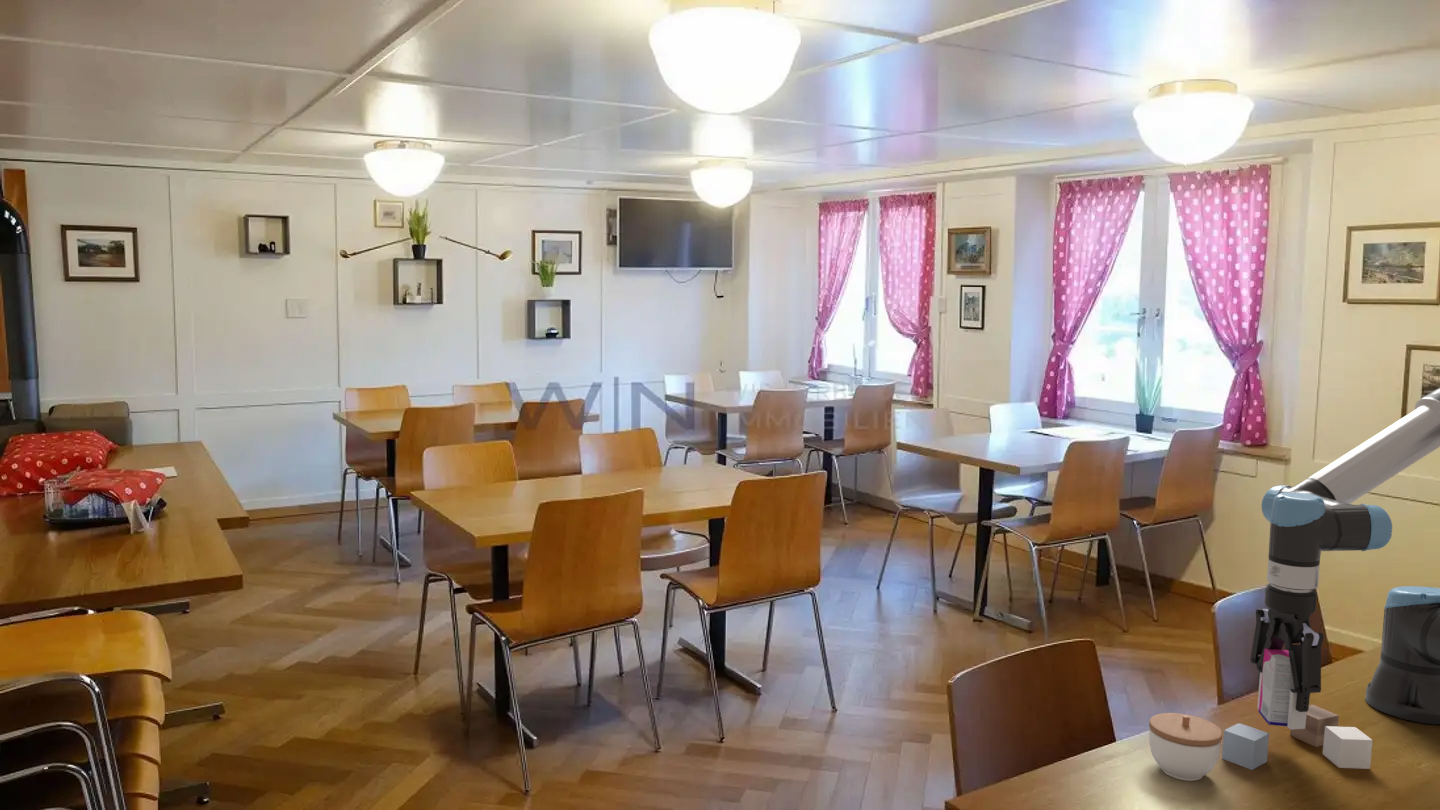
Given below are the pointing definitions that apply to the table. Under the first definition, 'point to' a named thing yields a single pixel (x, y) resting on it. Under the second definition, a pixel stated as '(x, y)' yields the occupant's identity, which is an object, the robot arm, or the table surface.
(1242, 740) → the slate-blue cube
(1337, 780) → the table surface
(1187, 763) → the lidded jar
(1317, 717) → the walnut cube
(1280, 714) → the supplement box
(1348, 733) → the off-white cube
